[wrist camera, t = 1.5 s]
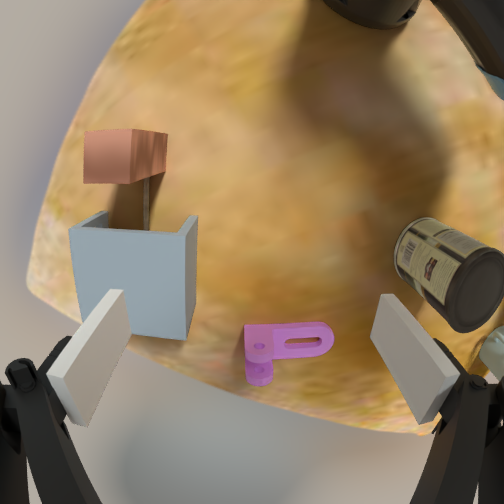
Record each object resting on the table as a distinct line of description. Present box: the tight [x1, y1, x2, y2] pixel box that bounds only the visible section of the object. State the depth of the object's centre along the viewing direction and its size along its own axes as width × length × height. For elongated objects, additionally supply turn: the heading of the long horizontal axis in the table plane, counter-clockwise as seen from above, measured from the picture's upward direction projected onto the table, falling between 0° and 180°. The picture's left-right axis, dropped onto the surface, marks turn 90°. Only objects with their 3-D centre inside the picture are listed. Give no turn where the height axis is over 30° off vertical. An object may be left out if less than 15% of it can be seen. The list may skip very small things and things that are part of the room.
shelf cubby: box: [69, 211, 198, 340], centre depth 33 cm, size 12×13×8 cm
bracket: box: [244, 322, 334, 386], centre depth 39 cm, size 13×6×7 cm, turn 91°
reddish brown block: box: [84, 129, 168, 231], centre depth 29 cm, size 19×5×12 cm, turn 175°
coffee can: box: [394, 217, 504, 333], centre depth 31 cm, size 10×10×14 cm
